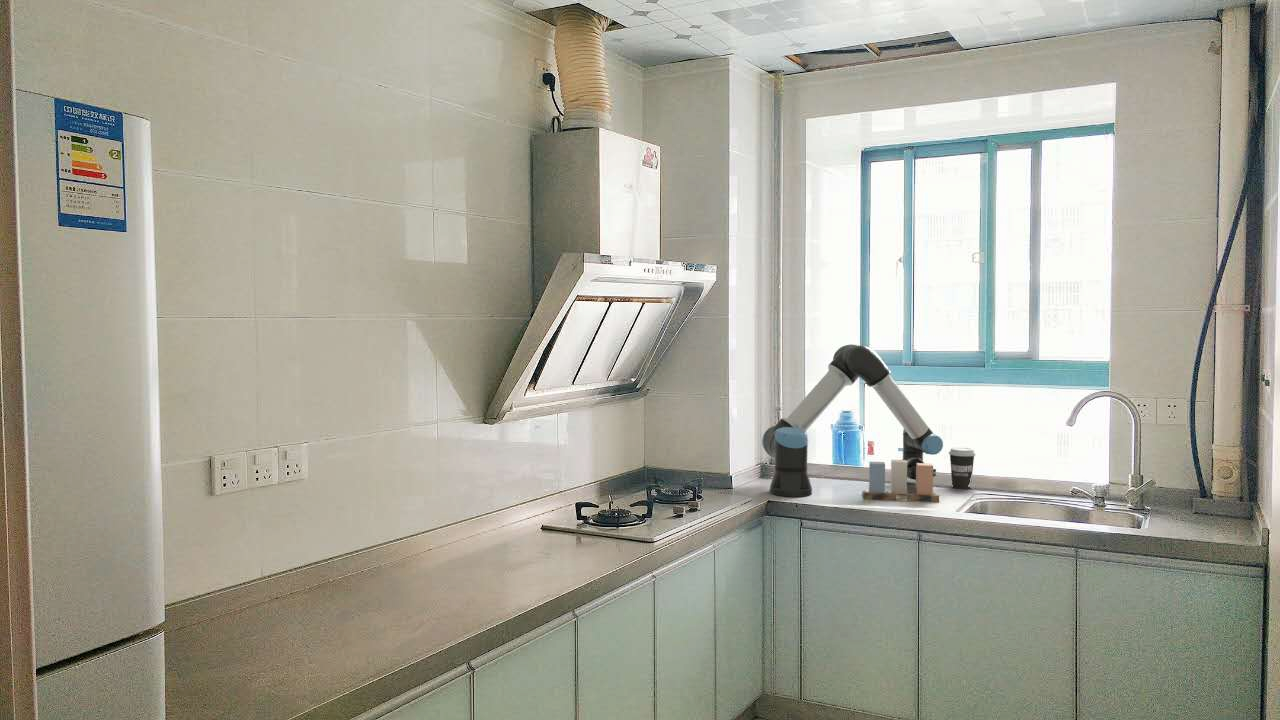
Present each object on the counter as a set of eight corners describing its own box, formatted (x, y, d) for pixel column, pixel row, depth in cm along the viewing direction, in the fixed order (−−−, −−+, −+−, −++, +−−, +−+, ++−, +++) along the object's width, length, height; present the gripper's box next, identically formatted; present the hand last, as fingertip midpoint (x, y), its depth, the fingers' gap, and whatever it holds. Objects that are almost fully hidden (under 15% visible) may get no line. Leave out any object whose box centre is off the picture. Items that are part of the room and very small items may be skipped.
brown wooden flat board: (864, 501, 315) (864, 493, 314) (861, 493, 330) (861, 485, 329) (939, 504, 310) (939, 495, 310) (933, 496, 325) (933, 487, 325)
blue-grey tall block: (869, 497, 316) (870, 463, 315) (869, 495, 321) (869, 461, 320) (884, 498, 315) (885, 464, 314) (883, 495, 320) (884, 462, 319)
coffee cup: (942, 487, 342) (943, 447, 342) (961, 485, 346) (962, 446, 346) (961, 491, 334) (961, 451, 333) (980, 489, 338) (981, 449, 337)
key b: (892, 495, 320) (892, 461, 320) (890, 492, 325) (891, 459, 325) (906, 495, 319) (907, 462, 319) (905, 493, 324) (905, 460, 324)
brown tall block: (917, 499, 313) (918, 465, 312) (915, 496, 318) (916, 463, 317) (932, 500, 312) (933, 465, 311) (930, 497, 317) (931, 463, 316)
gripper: (933, 479, 340) (942, 490, 316) (897, 477, 342) (904, 489, 319) (933, 459, 339) (943, 469, 316) (898, 458, 342) (904, 468, 318)
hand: (923, 479), depth 317 cm, fingers closed
